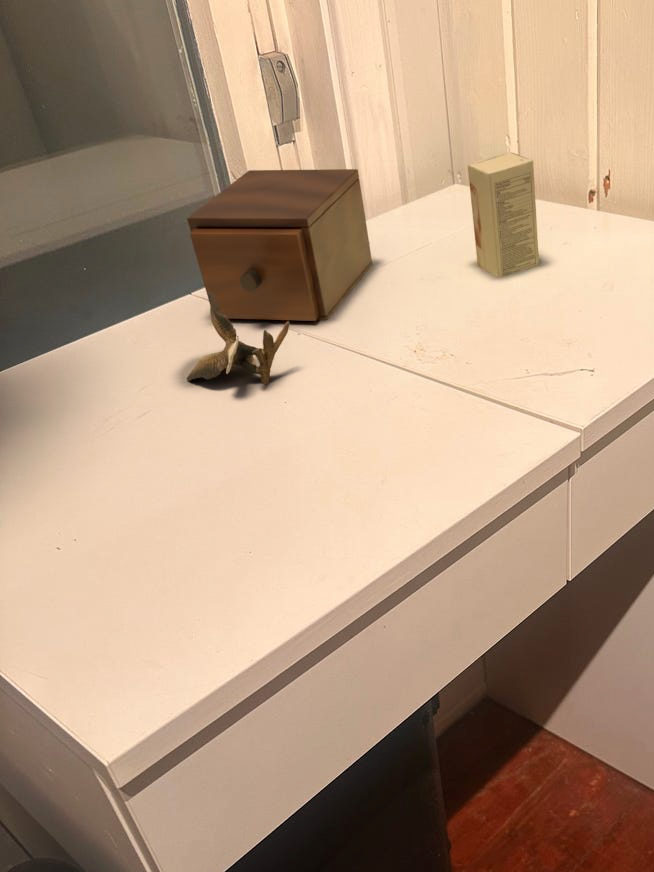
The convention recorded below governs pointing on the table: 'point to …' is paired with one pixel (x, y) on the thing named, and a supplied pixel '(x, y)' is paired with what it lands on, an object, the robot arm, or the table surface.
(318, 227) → the cabinet
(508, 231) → the tall printed carton
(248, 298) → the drawer
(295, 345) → the table surface
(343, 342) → the table surface
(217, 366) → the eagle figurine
